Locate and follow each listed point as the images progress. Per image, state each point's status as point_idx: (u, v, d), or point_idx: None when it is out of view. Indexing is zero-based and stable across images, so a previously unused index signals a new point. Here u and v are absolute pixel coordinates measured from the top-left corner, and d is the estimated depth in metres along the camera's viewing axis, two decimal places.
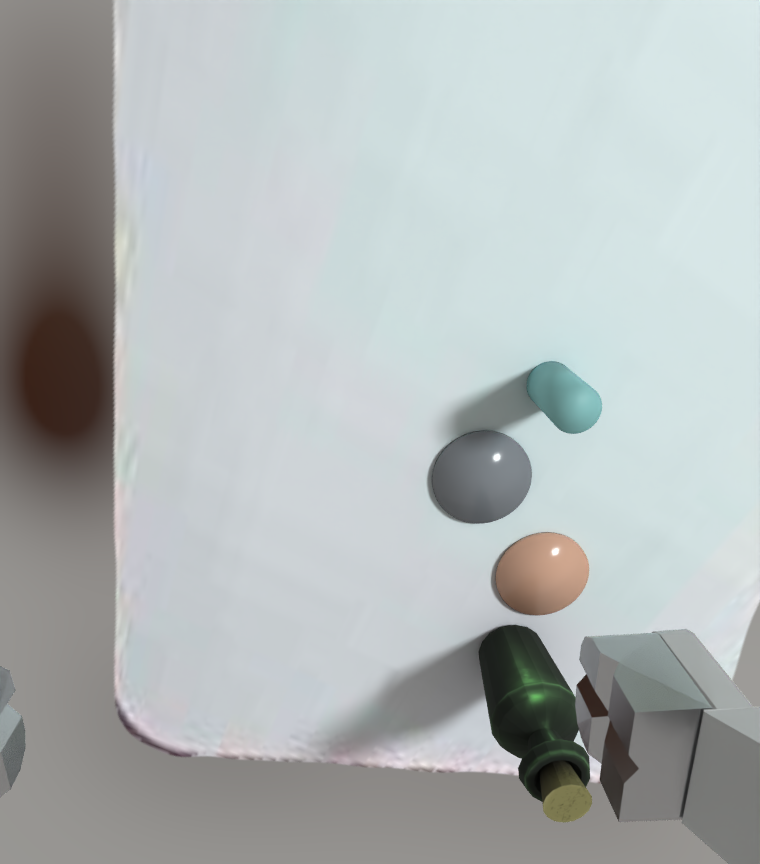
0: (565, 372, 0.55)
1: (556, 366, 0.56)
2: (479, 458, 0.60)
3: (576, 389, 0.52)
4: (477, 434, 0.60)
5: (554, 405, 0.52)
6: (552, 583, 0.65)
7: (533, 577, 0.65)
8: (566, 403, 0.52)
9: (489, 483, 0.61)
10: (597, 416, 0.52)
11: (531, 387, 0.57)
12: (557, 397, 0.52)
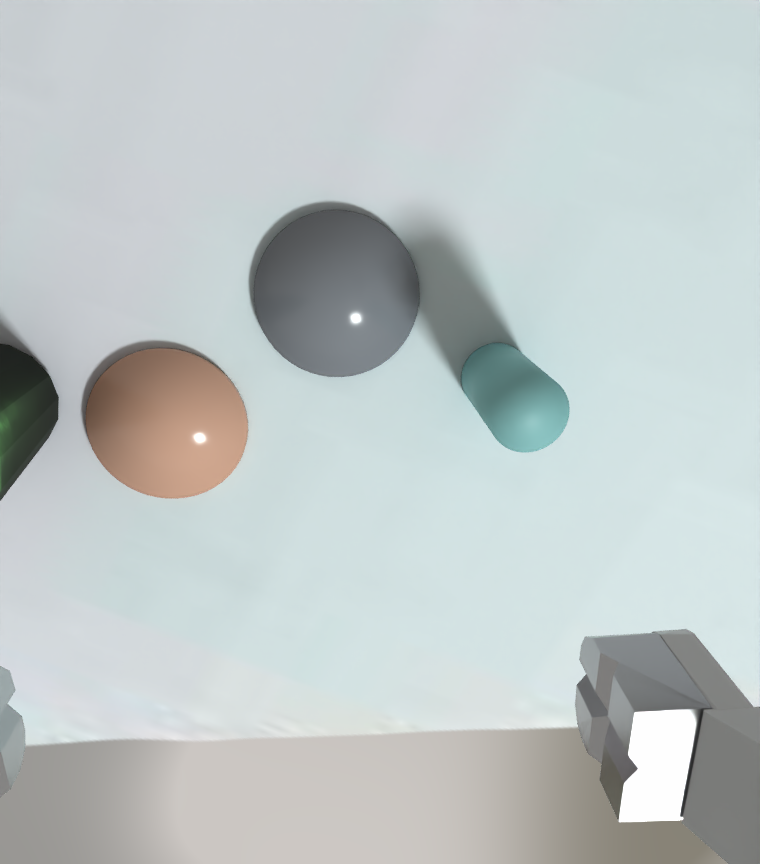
0: None
1: None
2: (373, 286, 0.37)
3: (561, 407, 0.33)
4: (414, 277, 0.37)
5: (536, 379, 0.32)
6: (154, 445, 0.39)
7: (161, 412, 0.38)
8: (538, 397, 0.33)
9: (330, 309, 0.37)
10: (517, 448, 0.34)
11: (504, 349, 0.37)
12: (549, 380, 0.33)
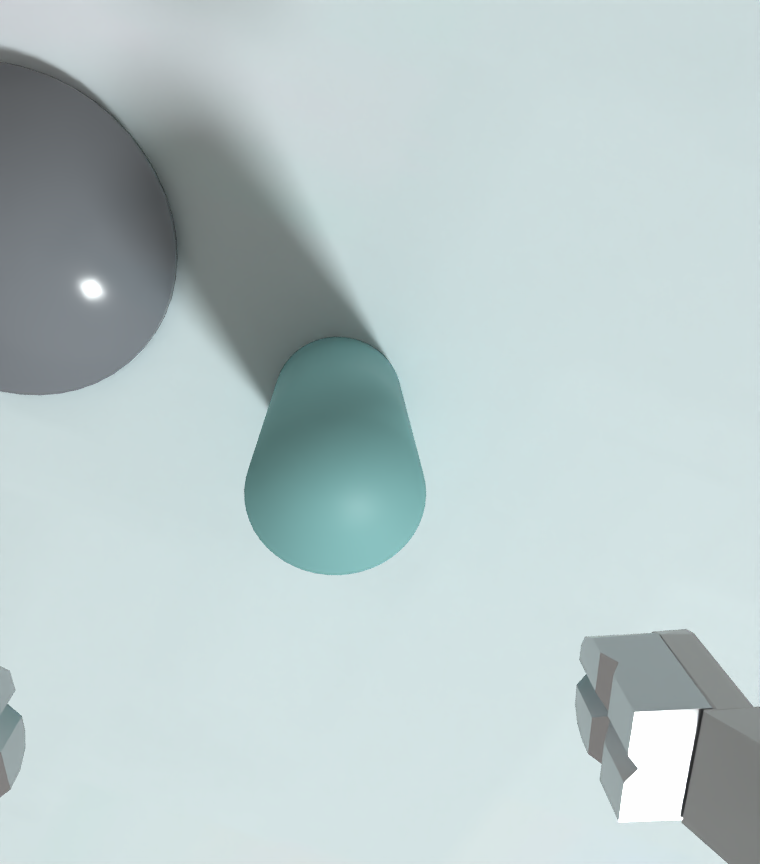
0: None
1: None
2: (78, 222, 0.19)
3: (407, 484, 0.15)
4: (160, 205, 0.19)
5: (345, 421, 0.14)
6: None
7: None
8: (354, 462, 0.15)
9: (0, 265, 0.19)
10: (315, 566, 0.16)
11: (338, 349, 0.19)
12: (375, 425, 0.14)
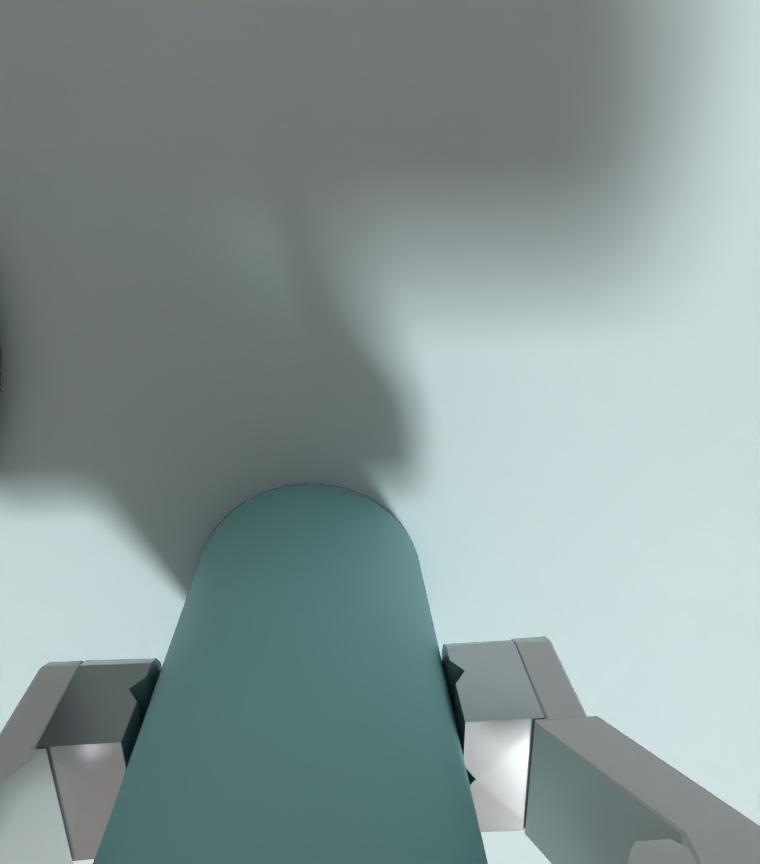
0: None
1: None
2: None
3: None
4: None
5: None
6: None
7: None
8: None
9: None
10: None
11: (306, 526, 0.10)
12: None
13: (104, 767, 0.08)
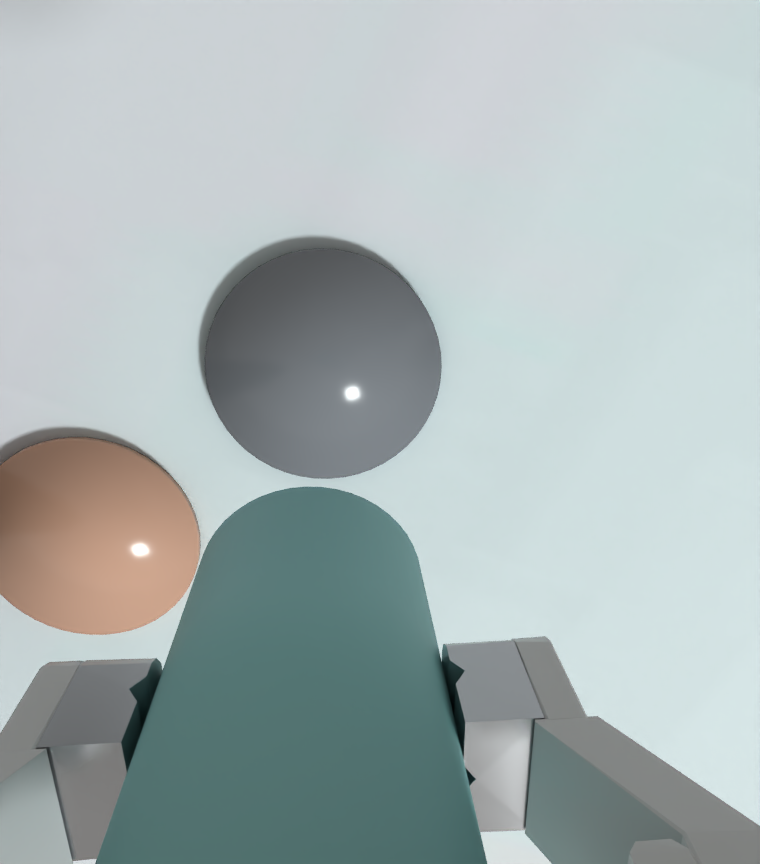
0: None
1: None
2: (375, 356, 0.26)
3: None
4: (435, 344, 0.26)
5: None
6: (70, 566, 0.28)
7: (78, 523, 0.27)
8: None
9: (314, 387, 0.26)
10: None
11: (307, 530, 0.10)
12: None
13: (104, 767, 0.08)
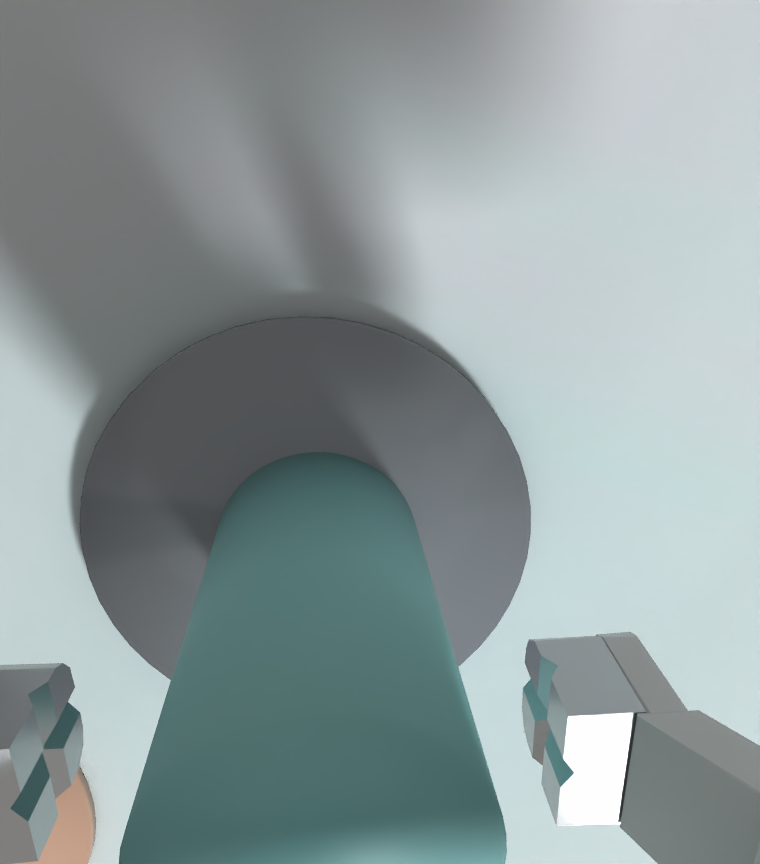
0: None
1: None
2: None
3: (469, 838, 0.07)
4: (520, 493, 0.14)
5: (337, 730, 0.06)
6: None
7: None
8: (358, 804, 0.07)
9: None
10: None
11: (318, 484, 0.12)
12: (402, 735, 0.07)
13: None
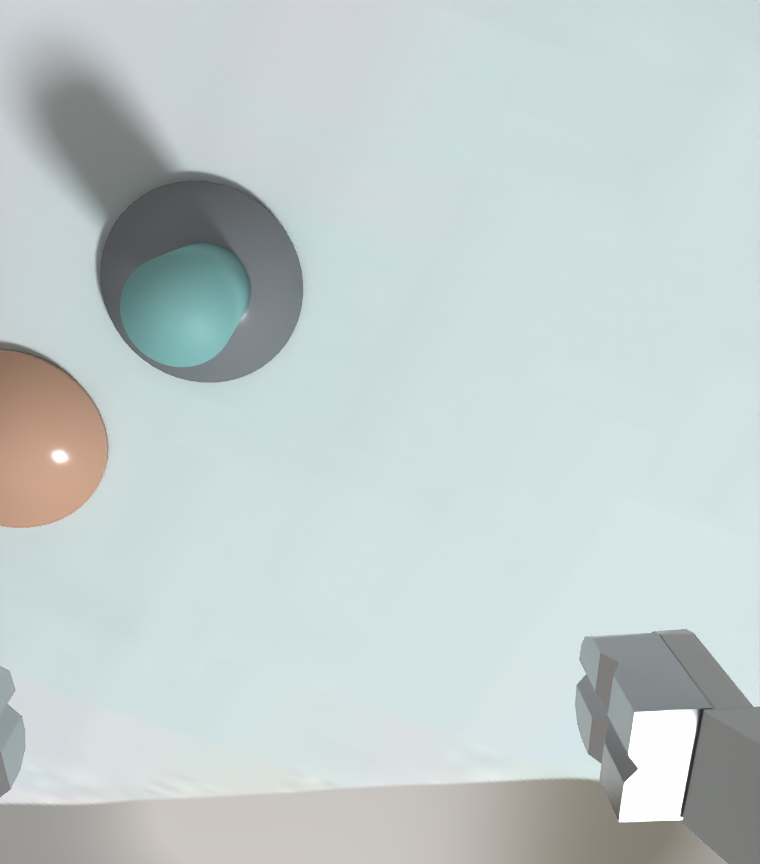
0: (243, 295, 0.28)
1: (246, 286, 0.29)
2: None
3: (222, 304, 0.24)
4: (295, 263, 0.31)
5: (179, 261, 0.24)
6: None
7: None
8: (187, 288, 0.24)
9: None
10: (169, 361, 0.25)
11: (198, 244, 0.29)
12: (198, 264, 0.24)
13: None
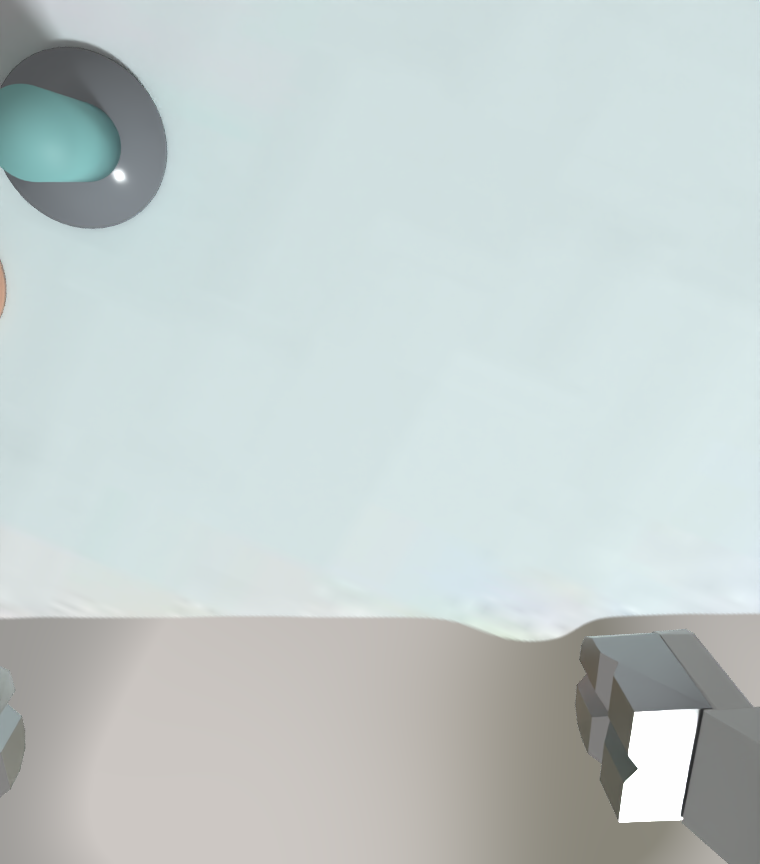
0: (99, 137, 0.33)
1: (110, 136, 0.35)
2: None
3: (64, 128, 0.30)
4: (158, 123, 0.37)
5: (27, 89, 0.29)
6: None
7: None
8: (35, 113, 0.30)
9: None
10: (23, 176, 0.31)
11: None
12: (43, 92, 0.29)
13: None
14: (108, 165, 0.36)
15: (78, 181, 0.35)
